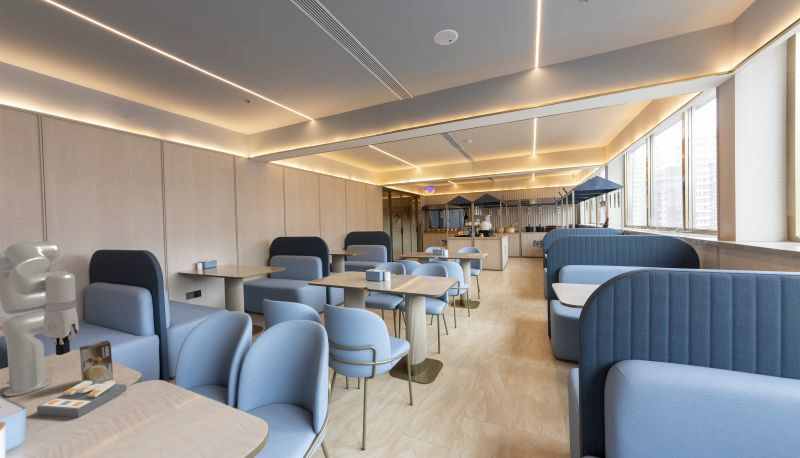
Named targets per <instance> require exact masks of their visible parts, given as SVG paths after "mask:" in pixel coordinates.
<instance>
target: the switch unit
mask: <svg viewBox="0 0 800 458" xmlns="http://www.w3.org/2000/svg"><path fill="white" fill-rule="evenodd" d="M104 383H105V382H100V383H92V384H90V385H94V384H104ZM90 385H89V386H90ZM127 388H128V387H127V384H121V383H115V384H114V385H113V386H111V387H110V388H109V389H107V390H106V391H104V392H103V393H101V394H100V395H98V396H97V397H88V396H87V394H89V393H90V392H92V391H93V390H91V391H88V392H84V393H78V392H76V393H74V394H72V395H64V394H63V393H62V394H61V395H59V396H57V397H55V398H52V399H50V400H48V401H46V402H44V403H41V404H39V405H38V406H36V411H37V412H36V415H38V416H53V417H63V418H78V419H79V418H81V417H83V416H84V415H86V414H87V415H88V414H89V413H90V412H93V411H94V410H96V409H98V408H99V406H100V407H102V406H103V405H105V404H107V403H109V402H110V400H111V401H112V399H113V398H114V399H116V398H118V397H120V396H121V395H120V394H122V393H123V392H125V391H126V390H127ZM94 390H95V389H94ZM127 391H128V390H127ZM119 395H120V396H119ZM122 395H123V394H122ZM117 396H118V397H117ZM115 397H116V398H115ZM114 399H113V400H114Z"/></svg>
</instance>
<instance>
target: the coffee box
mask: <svg viewBox="0 0 800 458" xmlns="http://www.w3.org/2000/svg"><path fill="white" fill-rule="evenodd" d="M79 357H80V370H81V382H83V381H92V383H104V382H107V381H110V380H112V379H113V378H114V371H113V368H114V367H113V355H112V345H111V341H110V340H103V341H99V342H96V343H91V344H86V345H83V346H80V347H79Z"/></svg>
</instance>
